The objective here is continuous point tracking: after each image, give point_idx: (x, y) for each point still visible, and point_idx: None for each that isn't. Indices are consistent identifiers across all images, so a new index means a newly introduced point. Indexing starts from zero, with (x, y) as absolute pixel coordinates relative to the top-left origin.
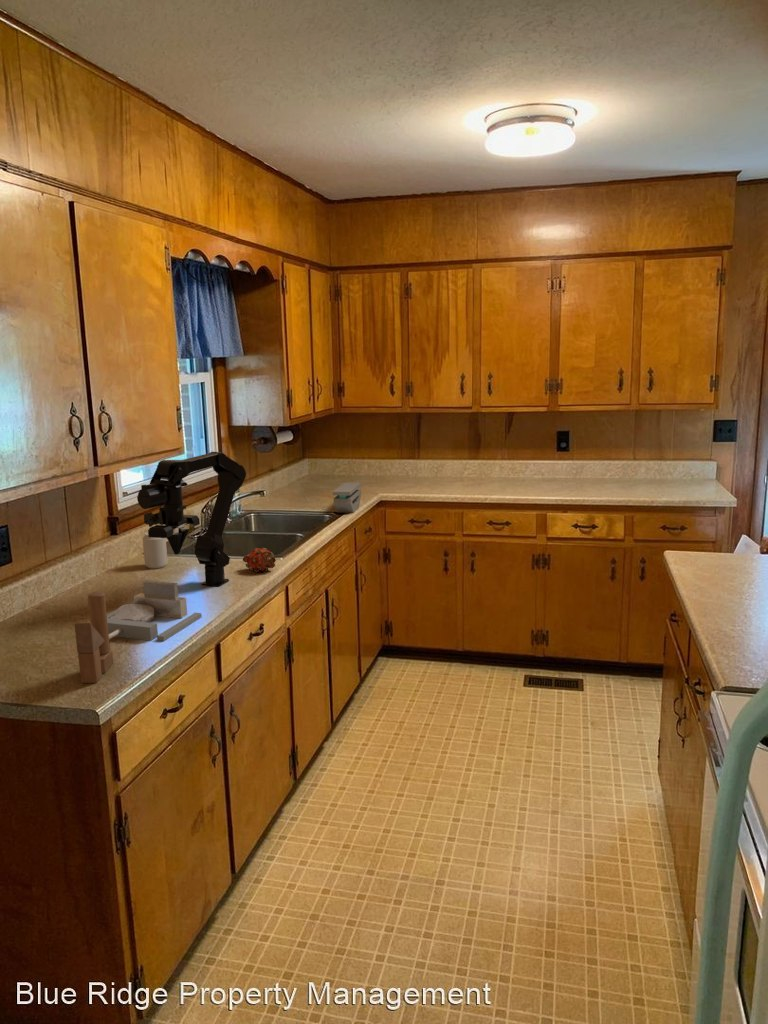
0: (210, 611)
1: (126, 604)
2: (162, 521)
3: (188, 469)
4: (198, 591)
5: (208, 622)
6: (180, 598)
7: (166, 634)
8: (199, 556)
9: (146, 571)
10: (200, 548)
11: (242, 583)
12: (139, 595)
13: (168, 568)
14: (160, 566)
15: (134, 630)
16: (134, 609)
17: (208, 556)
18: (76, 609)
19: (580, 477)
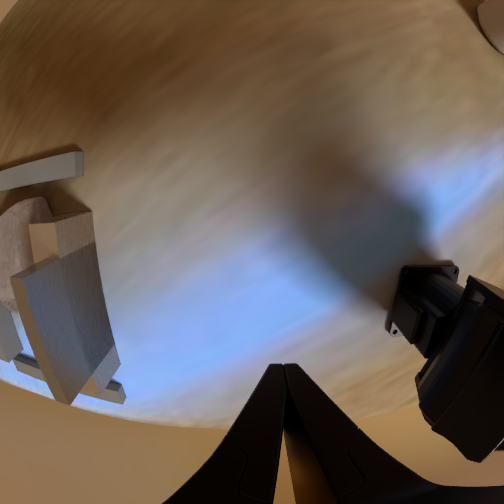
0: (167, 403)
1: (12, 226)
2: None
3: None
4: (333, 295)
5: (113, 414)
6: (87, 384)
7: (23, 372)
8: (457, 334)
9: (458, 13)
10: (469, 379)
11: (415, 371)
12: (41, 237)
13: (500, 69)
14: (495, 45)
15: None
16: (13, 266)
17: (422, 400)
18: (71, 26)
19: None
